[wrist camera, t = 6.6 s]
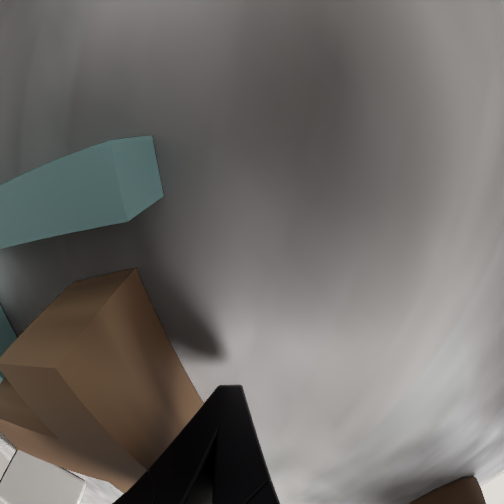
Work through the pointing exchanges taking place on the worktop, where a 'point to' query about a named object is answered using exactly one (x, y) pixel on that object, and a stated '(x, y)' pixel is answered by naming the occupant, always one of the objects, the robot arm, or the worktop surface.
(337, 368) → the worktop surface
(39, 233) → the jig
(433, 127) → the worktop surface
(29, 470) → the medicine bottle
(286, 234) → the worktop surface
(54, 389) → the t block
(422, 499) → the beer bottle
